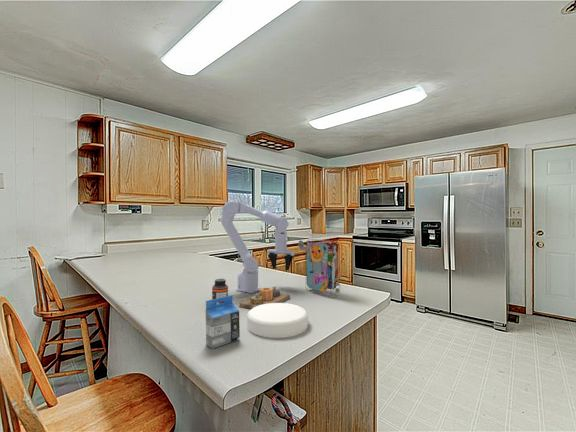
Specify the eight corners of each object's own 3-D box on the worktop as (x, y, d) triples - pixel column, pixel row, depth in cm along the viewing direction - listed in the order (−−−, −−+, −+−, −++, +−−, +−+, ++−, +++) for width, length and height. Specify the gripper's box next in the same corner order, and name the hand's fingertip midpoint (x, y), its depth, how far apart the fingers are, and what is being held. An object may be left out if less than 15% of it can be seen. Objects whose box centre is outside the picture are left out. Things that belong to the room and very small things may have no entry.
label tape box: (212, 349, 76) (212, 304, 76) (205, 344, 79) (205, 300, 79) (240, 340, 82) (240, 297, 82) (232, 335, 85) (232, 294, 85)
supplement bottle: (211, 307, 111) (211, 278, 111) (226, 305, 113) (226, 277, 113) (212, 312, 105) (213, 282, 105) (229, 310, 107) (229, 280, 107)
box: (293, 287, 142) (293, 238, 142) (302, 285, 146) (302, 237, 146) (330, 299, 123) (331, 242, 122) (340, 296, 127) (340, 241, 126)
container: (234, 325, 94) (234, 311, 94) (279, 310, 108) (279, 298, 108) (275, 345, 80) (275, 328, 80) (320, 325, 94) (320, 311, 94)
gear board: (239, 306, 112) (239, 294, 112) (269, 294, 129) (269, 283, 129) (262, 311, 106) (262, 298, 106) (289, 298, 123) (289, 286, 123)
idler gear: (256, 299, 117) (256, 289, 117) (265, 296, 121) (265, 286, 121) (267, 301, 114) (267, 291, 114) (275, 298, 118) (275, 288, 118)
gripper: (297, 241, 139) (297, 269, 139) (273, 240, 147) (273, 266, 147) (290, 242, 133) (290, 271, 133) (265, 241, 141) (265, 268, 141)
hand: (280, 269), depth 140 cm, fingers open, 7 cm apart
